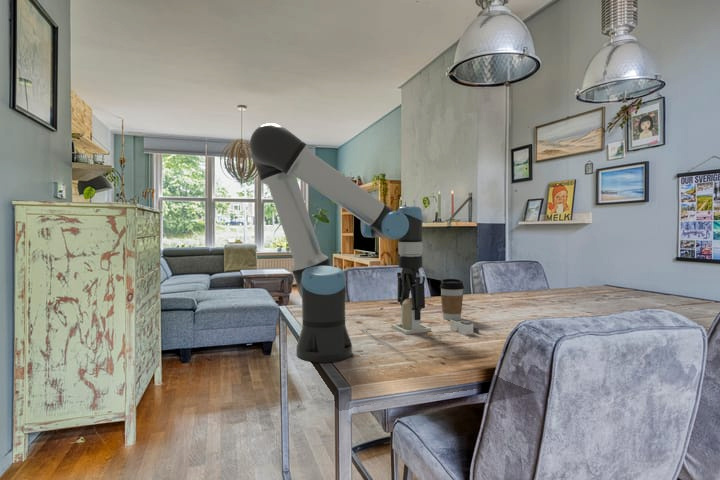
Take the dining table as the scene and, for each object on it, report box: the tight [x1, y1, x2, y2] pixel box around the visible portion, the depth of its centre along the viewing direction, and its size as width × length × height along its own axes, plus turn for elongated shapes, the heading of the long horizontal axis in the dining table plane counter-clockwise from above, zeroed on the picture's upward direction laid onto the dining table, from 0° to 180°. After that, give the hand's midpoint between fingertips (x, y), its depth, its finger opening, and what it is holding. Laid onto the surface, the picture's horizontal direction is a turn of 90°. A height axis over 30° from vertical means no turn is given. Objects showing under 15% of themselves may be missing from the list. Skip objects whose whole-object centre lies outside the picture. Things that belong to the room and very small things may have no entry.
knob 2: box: [458, 320, 474, 336], centre depth 125 cm, size 3×3×4 cm
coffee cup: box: [439, 278, 465, 321], centre depth 145 cm, size 8×8×15 cm
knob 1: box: [449, 317, 464, 332], centre depth 129 cm, size 3×3×4 cm
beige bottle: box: [401, 297, 413, 330], centre depth 131 cm, size 6×6×10 cm
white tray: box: [390, 323, 480, 339], centre depth 129 cm, size 22×18×3 cm
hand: (410, 327), depth 131 cm, fingers open, 6 cm apart
